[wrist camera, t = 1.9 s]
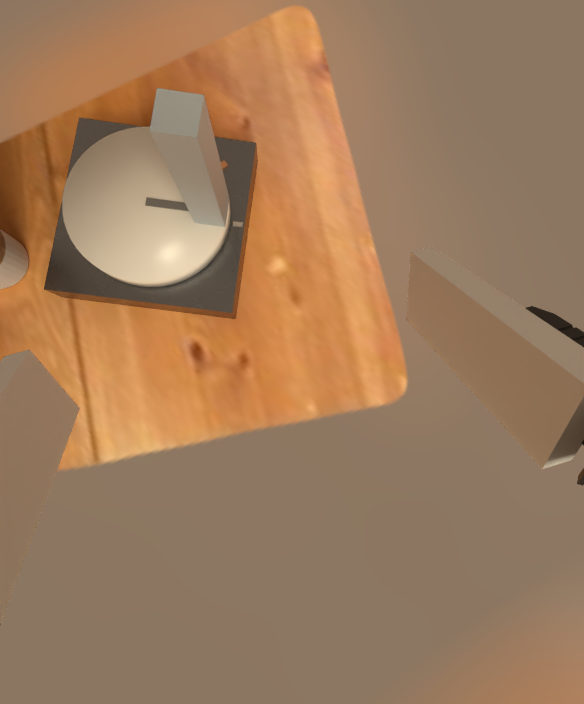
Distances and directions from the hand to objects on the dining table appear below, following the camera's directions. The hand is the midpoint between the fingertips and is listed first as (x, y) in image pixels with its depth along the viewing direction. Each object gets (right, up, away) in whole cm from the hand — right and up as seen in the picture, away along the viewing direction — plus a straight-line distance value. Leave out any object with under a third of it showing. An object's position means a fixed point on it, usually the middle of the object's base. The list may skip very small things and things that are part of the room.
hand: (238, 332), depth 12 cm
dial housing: (-13, +14, +27) cm, 33 cm away
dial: (-13, +14, +24) cm, 30 cm away
